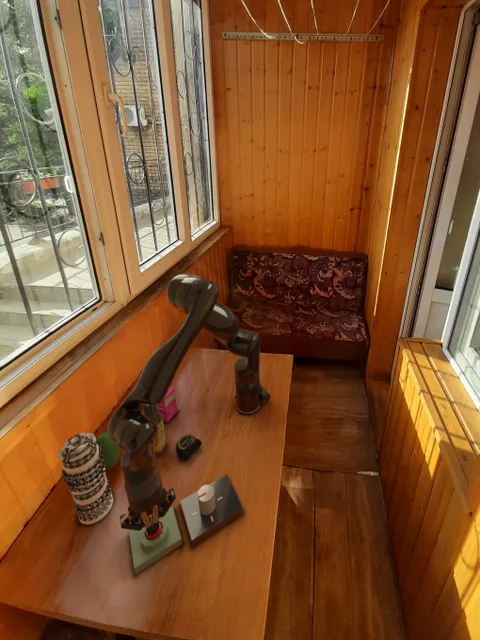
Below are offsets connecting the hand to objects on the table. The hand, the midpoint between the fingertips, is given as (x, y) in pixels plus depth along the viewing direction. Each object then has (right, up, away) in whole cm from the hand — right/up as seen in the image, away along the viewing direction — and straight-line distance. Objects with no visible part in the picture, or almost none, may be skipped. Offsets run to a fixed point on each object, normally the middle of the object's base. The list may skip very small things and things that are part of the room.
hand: (153, 530), depth 78 cm
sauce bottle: (-10, +5, +26) cm, 28 cm away
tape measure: (+1, +4, +25) cm, 25 cm away
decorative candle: (-20, -1, +9) cm, 22 cm away
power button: (0, -2, +1) cm, 2 cm away
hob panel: (+13, -2, +8) cm, 15 cm away
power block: (0, -4, +1) cm, 4 cm away
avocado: (-23, +3, +20) cm, 31 cm away
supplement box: (-11, +9, +38) cm, 41 cm away
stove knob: (+12, +1, +7) cm, 14 cm away
